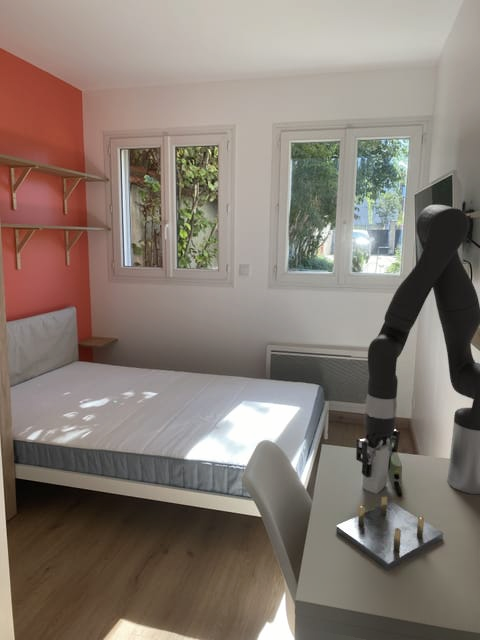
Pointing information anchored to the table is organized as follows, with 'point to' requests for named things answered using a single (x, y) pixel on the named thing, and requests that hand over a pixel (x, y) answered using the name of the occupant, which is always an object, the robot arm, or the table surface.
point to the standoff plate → (389, 533)
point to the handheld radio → (395, 473)
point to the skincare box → (377, 470)
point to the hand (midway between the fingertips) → (375, 472)
